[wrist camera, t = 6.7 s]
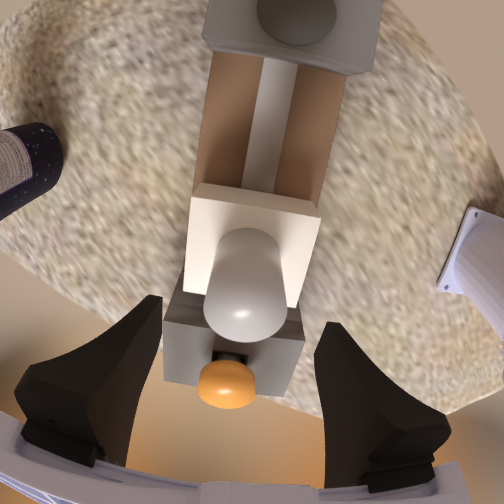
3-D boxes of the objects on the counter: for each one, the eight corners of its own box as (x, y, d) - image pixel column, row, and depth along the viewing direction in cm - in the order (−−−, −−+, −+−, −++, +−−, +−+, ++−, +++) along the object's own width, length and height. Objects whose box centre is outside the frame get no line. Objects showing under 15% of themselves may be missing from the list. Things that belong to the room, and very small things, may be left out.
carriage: (312, 201, 20) (343, 263, 12) (291, 282, 22) (305, 366, 15) (200, 182, 19) (167, 235, 12) (191, 266, 22) (164, 347, 15)
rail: (357, 27, 16) (395, 3, 10) (279, 344, 28) (283, 400, 22) (220, 0, 15) (206, -37, 10) (178, 329, 27) (162, 384, 21)
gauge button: (259, 344, 20) (260, 378, 18) (250, 378, 22) (250, 411, 19) (205, 336, 20) (199, 370, 17) (201, 371, 22) (196, 404, 19)
